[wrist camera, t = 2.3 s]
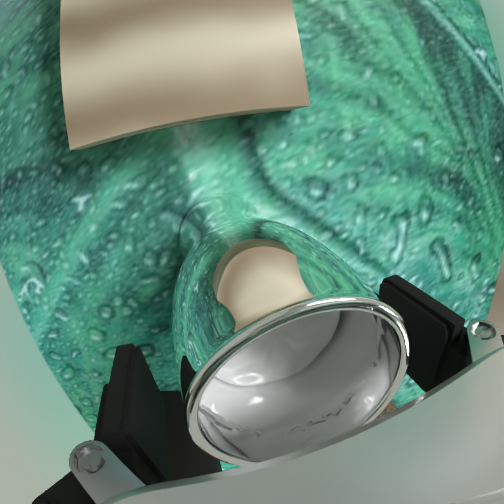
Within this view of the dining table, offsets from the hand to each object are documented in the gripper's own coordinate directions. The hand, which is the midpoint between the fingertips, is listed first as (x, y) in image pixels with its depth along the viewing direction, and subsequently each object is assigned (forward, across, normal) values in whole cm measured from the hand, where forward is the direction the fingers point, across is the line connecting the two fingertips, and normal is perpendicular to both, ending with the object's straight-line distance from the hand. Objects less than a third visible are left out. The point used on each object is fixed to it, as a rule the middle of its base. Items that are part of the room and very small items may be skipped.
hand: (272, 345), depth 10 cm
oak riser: (+11, +1, -17) cm, 20 cm away
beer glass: (+12, 0, -1) cm, 12 cm away
